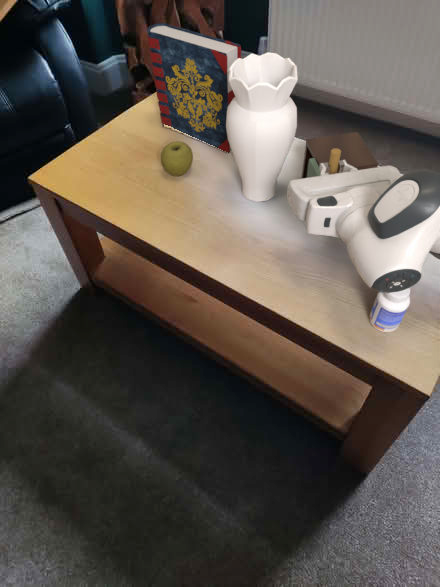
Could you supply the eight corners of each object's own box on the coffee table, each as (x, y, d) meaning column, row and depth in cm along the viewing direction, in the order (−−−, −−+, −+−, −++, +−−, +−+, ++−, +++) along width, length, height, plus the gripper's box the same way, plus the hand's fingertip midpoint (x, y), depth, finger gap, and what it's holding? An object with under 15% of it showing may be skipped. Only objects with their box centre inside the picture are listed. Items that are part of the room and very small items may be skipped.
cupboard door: (309, 197, 101) (321, 118, 85) (326, 232, 93) (342, 153, 78) (302, 198, 100) (312, 119, 85) (318, 233, 93) (333, 155, 78)
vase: (275, 166, 108) (284, 43, 85) (299, 202, 100) (316, 77, 77) (220, 179, 106) (213, 57, 83) (240, 218, 98) (239, 93, 75)
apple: (200, 171, 109) (197, 146, 103) (174, 185, 106) (170, 160, 100) (182, 158, 112) (179, 133, 107) (157, 171, 109) (152, 146, 104)
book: (156, 125, 122) (139, 30, 103) (172, 114, 126) (159, 20, 106) (227, 154, 112) (224, 55, 93) (243, 141, 116) (242, 43, 96)
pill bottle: (405, 327, 78) (422, 294, 70) (379, 337, 77) (394, 305, 69) (387, 304, 81) (402, 271, 74) (362, 314, 80) (375, 281, 73)
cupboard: (348, 172, 106) (357, 131, 97) (366, 204, 99) (378, 163, 90) (300, 179, 105) (306, 139, 96) (316, 211, 98) (323, 171, 89)
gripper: (422, 189, 71) (388, 142, 80) (302, 207, 70) (280, 157, 78) (410, 217, 76) (379, 170, 85) (298, 235, 75) (278, 185, 83)
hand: (331, 164), depth 82 cm, fingers closed, pressing on cupboard door
